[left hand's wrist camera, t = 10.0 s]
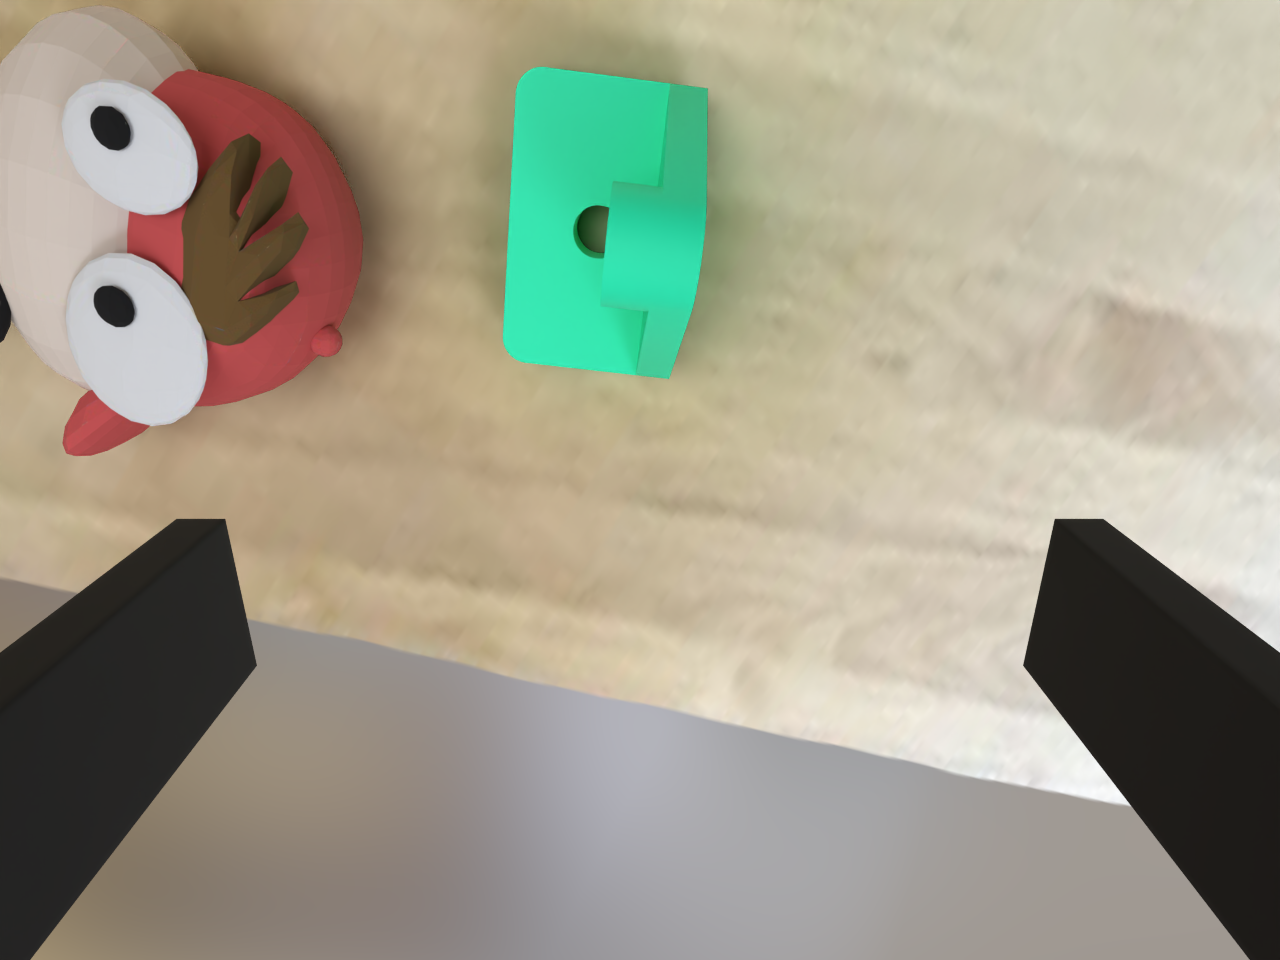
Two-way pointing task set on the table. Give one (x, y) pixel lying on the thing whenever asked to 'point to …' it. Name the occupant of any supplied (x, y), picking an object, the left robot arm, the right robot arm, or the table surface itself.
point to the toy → (162, 227)
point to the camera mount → (637, 222)
